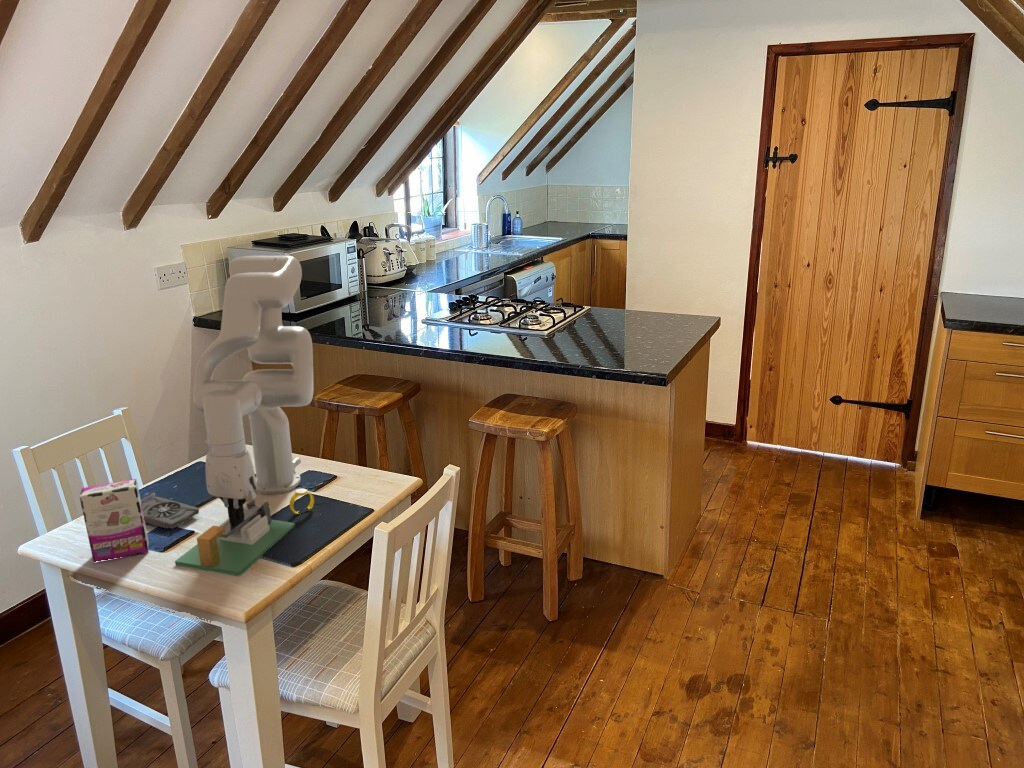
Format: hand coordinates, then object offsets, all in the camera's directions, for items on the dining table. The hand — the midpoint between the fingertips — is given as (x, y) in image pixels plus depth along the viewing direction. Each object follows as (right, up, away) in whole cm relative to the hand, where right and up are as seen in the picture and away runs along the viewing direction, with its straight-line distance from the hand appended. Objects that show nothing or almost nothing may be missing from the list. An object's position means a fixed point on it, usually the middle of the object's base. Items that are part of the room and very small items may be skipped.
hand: (237, 521), depth 175 cm
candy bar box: (-25, -7, -2) cm, 26 cm away
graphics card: (-23, -2, +13) cm, 27 cm away
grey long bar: (0, 0, +2) cm, 2 cm away
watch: (+10, -1, +16) cm, 19 cm away
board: (0, -6, +1) cm, 6 cm away
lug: (-3, -7, -7) cm, 10 cm away
